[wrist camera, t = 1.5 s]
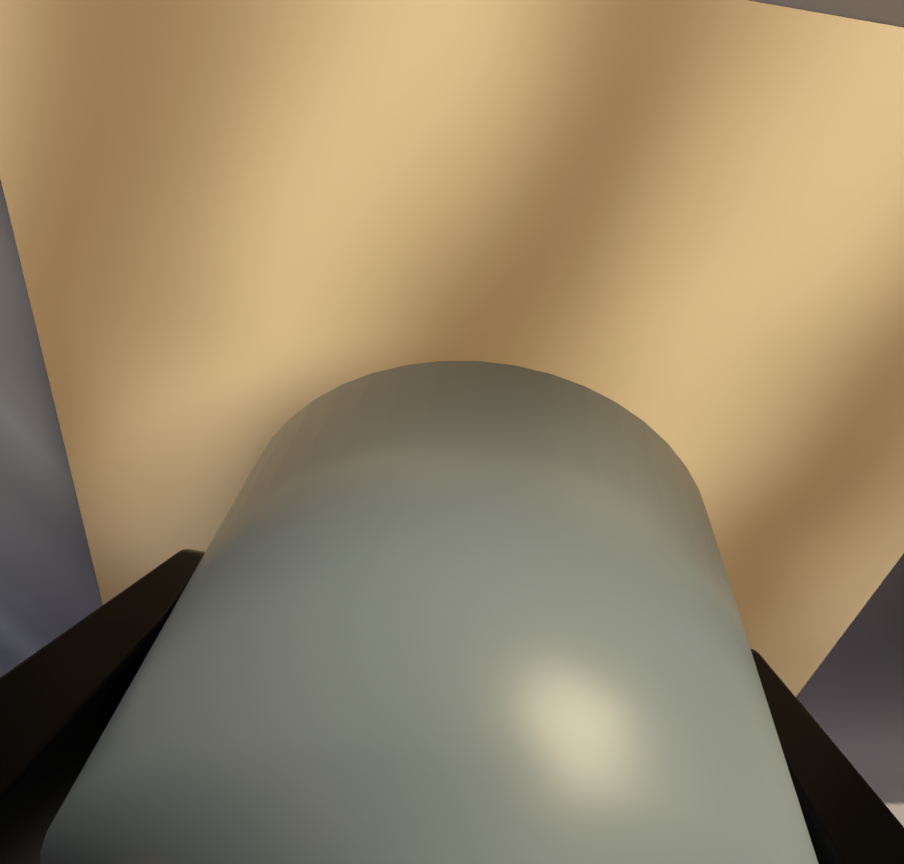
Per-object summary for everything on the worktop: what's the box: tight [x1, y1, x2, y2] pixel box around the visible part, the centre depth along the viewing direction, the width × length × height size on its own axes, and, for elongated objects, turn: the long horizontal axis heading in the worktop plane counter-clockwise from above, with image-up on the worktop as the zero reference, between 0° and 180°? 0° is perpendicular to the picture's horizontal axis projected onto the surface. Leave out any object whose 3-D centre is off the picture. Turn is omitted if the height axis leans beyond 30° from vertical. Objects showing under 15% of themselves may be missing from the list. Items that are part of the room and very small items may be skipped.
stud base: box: [0, 0, 904, 697], centre depth 12 cm, size 16×15×4 cm
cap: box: [40, 361, 818, 864], centre depth 8 cm, size 7×7×5 cm
